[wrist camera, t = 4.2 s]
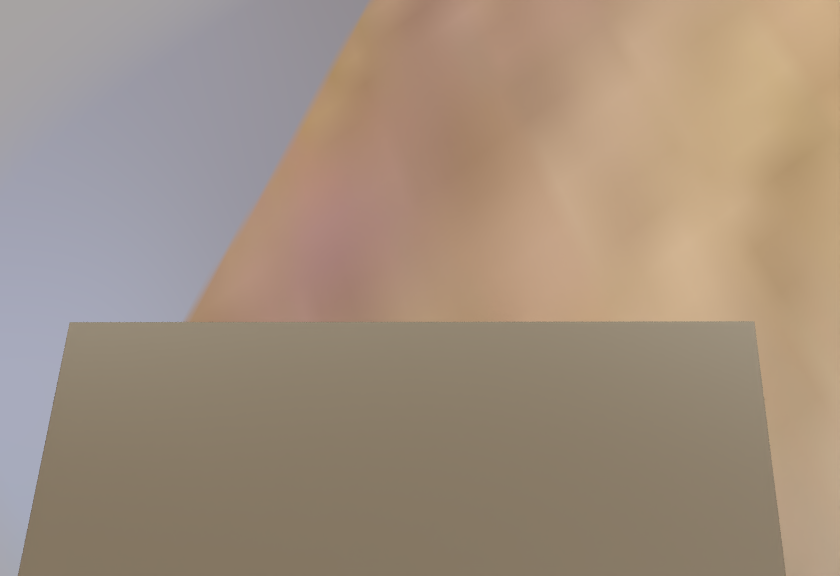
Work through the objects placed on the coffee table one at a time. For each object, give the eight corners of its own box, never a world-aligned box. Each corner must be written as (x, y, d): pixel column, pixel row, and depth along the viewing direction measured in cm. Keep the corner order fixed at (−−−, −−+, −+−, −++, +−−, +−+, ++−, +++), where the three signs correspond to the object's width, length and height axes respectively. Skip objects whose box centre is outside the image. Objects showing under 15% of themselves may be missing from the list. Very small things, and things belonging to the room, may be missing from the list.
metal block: (570, 622, 14) (895, 1451, 2) (407, 611, 14) (-114, 1210, 2) (564, 451, 15) (756, 321, 3) (413, 447, 15) (69, 323, 4)
